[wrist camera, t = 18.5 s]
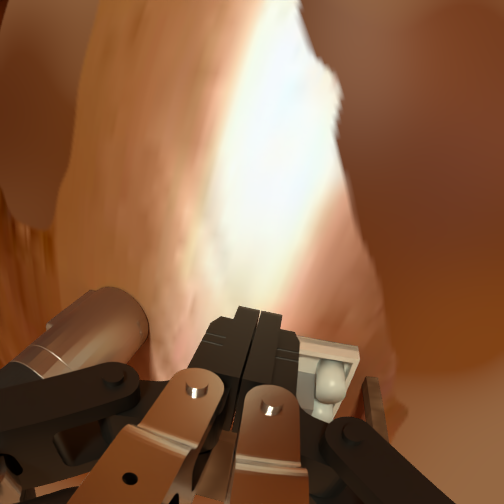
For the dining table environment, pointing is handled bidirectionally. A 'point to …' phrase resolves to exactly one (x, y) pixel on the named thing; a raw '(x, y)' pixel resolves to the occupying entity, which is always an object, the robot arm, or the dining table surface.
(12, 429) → the robot arm
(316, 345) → the tray
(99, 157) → the dining table surface
